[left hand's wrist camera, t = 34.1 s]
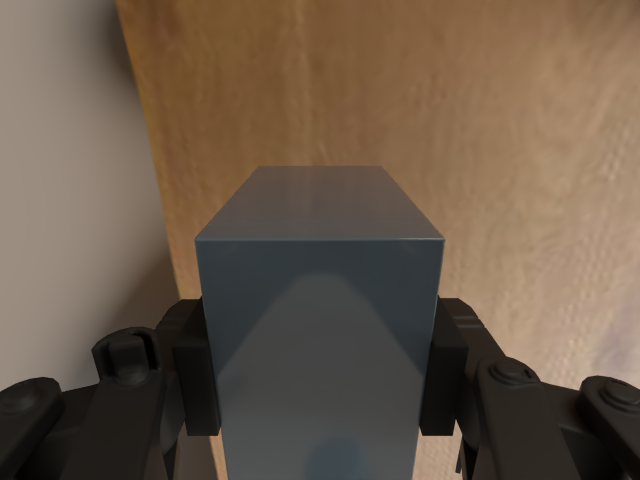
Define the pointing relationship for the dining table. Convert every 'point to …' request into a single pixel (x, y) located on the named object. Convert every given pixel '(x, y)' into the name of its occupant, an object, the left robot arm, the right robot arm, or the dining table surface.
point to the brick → (319, 323)
